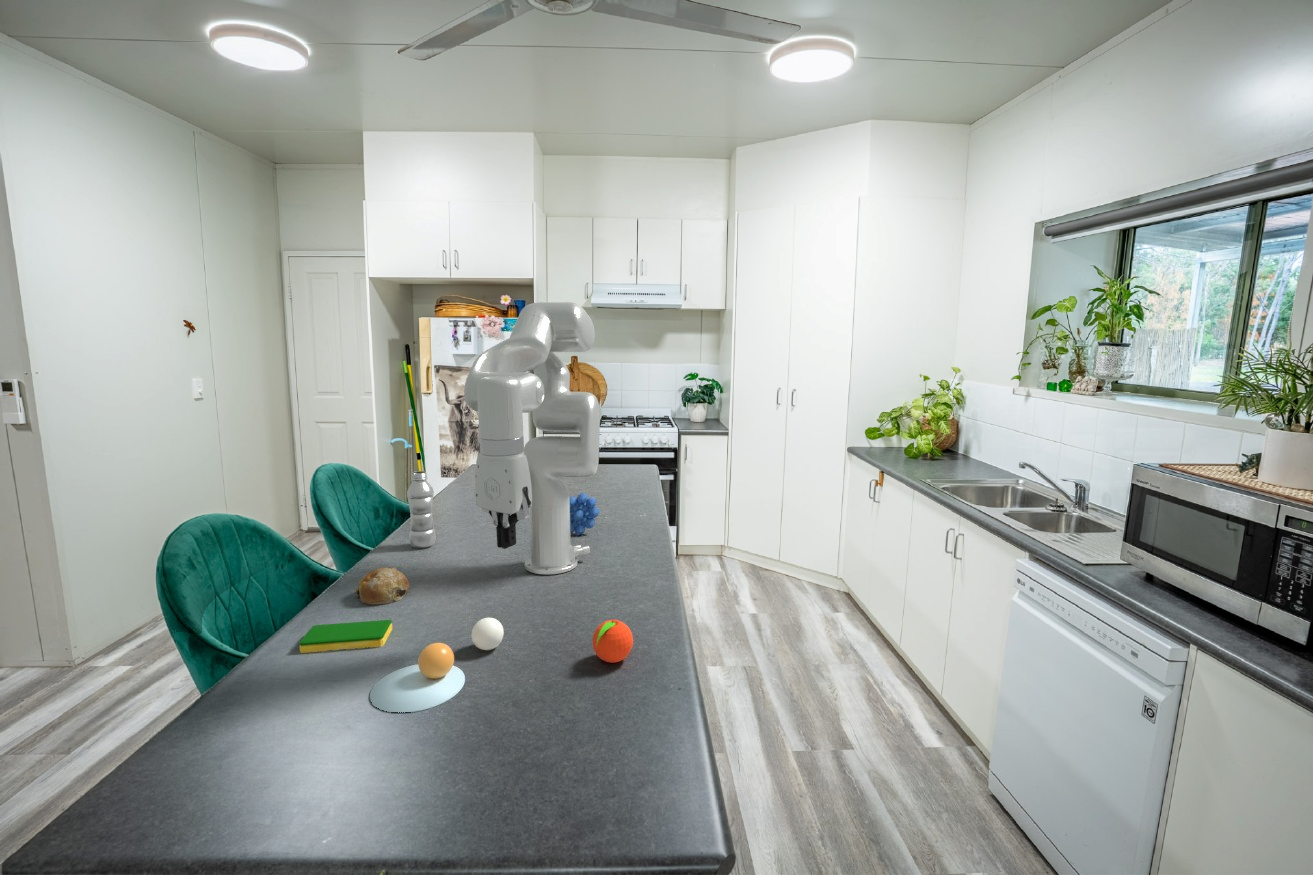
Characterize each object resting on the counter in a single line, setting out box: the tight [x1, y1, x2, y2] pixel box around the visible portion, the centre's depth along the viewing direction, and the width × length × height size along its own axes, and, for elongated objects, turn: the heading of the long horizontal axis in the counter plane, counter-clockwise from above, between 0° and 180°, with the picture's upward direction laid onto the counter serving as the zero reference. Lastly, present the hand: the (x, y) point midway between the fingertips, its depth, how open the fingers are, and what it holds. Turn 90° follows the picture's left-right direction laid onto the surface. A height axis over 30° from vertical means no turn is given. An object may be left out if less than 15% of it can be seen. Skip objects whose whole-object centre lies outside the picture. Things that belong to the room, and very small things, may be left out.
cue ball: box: [471, 617, 505, 651], centre depth 109 cm, size 6×6×6 cm
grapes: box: [569, 492, 600, 536], centre depth 173 cm, size 12×7×12 cm, turn 100°
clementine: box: [592, 619, 634, 664], centre depth 105 cm, size 8×7×7 cm
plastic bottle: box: [406, 470, 437, 549], centre depth 162 cm, size 6×7×20 cm
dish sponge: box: [298, 619, 393, 654], centre depth 113 cm, size 7×14×2 cm, turn 100°
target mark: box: [369, 663, 466, 714], centre depth 98 cm, size 14×14×1 cm
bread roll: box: [354, 567, 410, 606], centre depth 132 cm, size 10×10×8 cm
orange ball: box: [417, 642, 455, 679], centre depth 100 cm, size 6×6×6 cm
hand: (506, 545), depth 112 cm, fingers closed
